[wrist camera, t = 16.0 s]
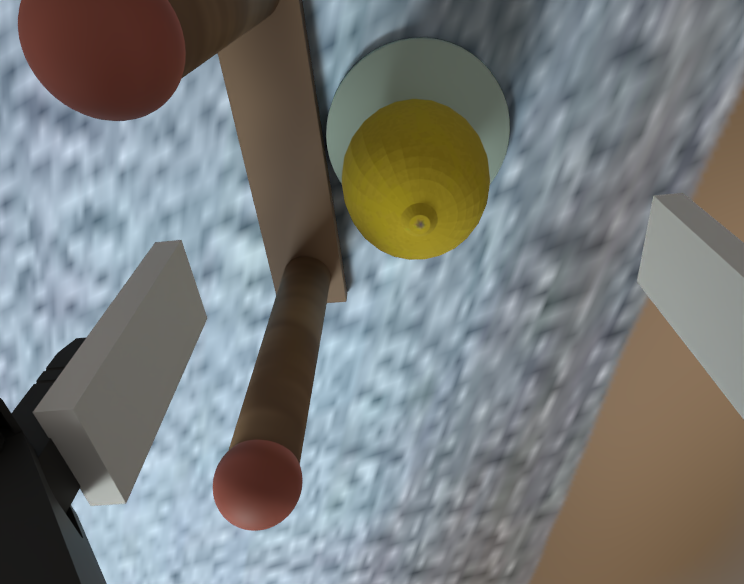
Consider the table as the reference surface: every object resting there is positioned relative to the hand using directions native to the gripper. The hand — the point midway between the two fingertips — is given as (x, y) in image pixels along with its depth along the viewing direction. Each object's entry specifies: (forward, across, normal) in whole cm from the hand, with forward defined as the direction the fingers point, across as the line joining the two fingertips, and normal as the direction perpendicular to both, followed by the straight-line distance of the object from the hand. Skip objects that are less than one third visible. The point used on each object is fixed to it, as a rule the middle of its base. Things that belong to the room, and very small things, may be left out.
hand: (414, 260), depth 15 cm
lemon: (+10, 0, 0) cm, 10 cm away
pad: (+11, +1, 0) cm, 11 cm away
